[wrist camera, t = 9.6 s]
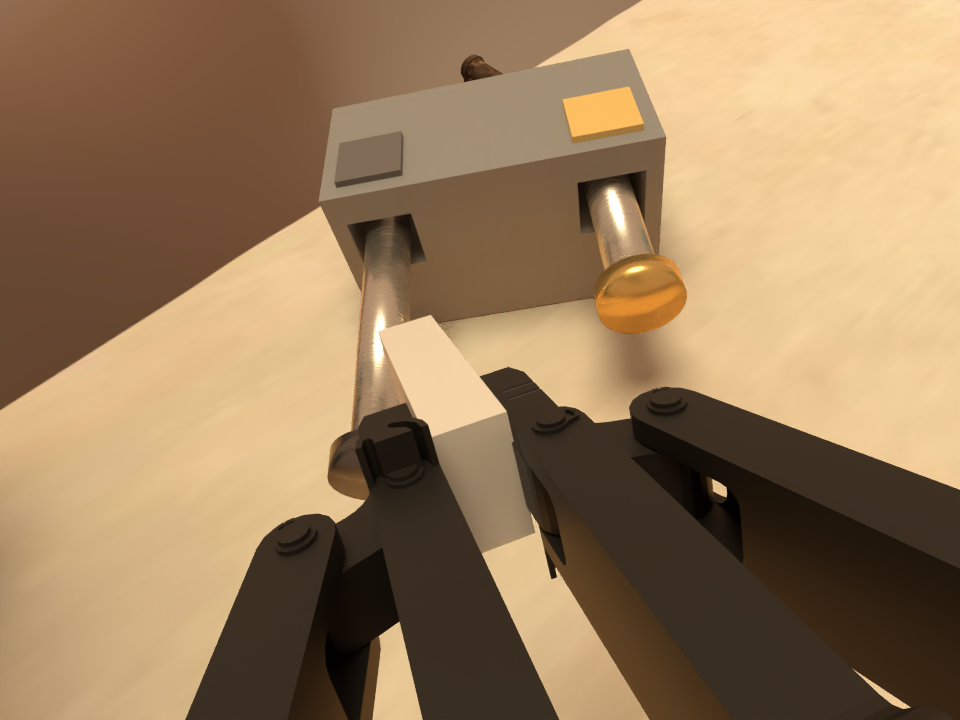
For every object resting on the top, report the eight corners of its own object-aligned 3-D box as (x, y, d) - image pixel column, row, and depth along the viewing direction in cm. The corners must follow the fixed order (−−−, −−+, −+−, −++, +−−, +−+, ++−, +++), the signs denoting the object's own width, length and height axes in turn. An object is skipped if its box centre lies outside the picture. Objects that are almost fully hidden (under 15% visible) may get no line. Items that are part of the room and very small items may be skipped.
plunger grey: (347, 506, 32) (312, 462, 28) (367, 235, 44) (345, 181, 41) (437, 494, 31) (412, 448, 28) (431, 223, 44) (414, 168, 40)
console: (379, 332, 46) (316, 196, 37) (384, 240, 53) (331, 103, 43) (656, 286, 44) (666, 130, 35) (627, 197, 51) (629, 42, 41)
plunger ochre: (599, 339, 35) (596, 281, 32) (552, 132, 48) (546, 74, 44) (683, 326, 35) (690, 266, 31) (613, 120, 47) (612, 61, 44)
